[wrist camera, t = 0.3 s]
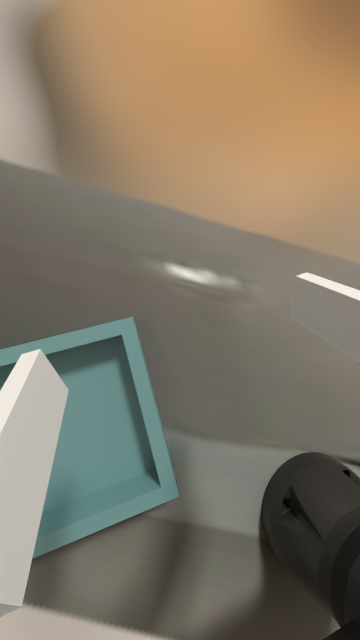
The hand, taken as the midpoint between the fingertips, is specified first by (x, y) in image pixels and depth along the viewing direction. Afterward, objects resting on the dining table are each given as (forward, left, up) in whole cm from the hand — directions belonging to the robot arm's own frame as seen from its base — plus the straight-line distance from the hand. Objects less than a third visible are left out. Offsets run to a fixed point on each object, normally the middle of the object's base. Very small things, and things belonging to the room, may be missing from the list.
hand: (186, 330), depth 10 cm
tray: (-7, +13, -17) cm, 23 cm away
